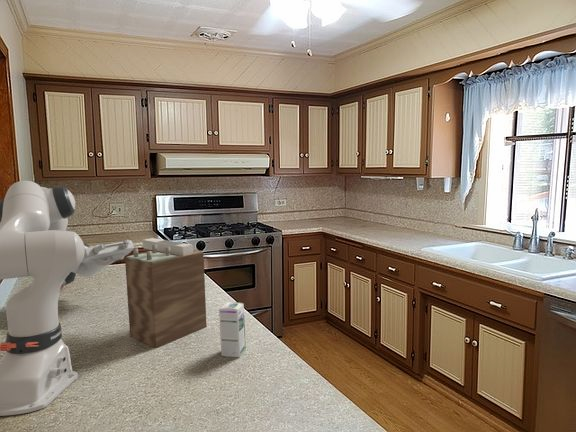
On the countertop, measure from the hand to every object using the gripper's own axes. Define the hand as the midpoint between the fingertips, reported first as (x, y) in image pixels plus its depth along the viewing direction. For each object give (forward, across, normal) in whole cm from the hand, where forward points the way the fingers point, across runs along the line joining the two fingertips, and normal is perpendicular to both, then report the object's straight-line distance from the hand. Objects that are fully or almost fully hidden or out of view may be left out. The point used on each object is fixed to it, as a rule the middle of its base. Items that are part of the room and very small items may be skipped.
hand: (115, 243), depth 157 cm
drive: (+25, +2, +13) cm, 28 cm away
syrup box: (+42, 0, +52) cm, 67 cm away
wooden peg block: (+17, -2, +38) cm, 42 cm away
